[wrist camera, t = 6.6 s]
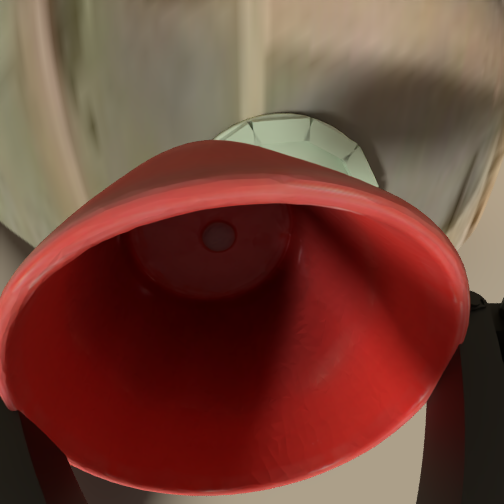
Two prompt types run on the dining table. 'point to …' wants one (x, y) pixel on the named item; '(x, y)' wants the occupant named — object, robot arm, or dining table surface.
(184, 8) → the dining table surface
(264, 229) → the flower pot
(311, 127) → the round tray
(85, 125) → the dining table surface
